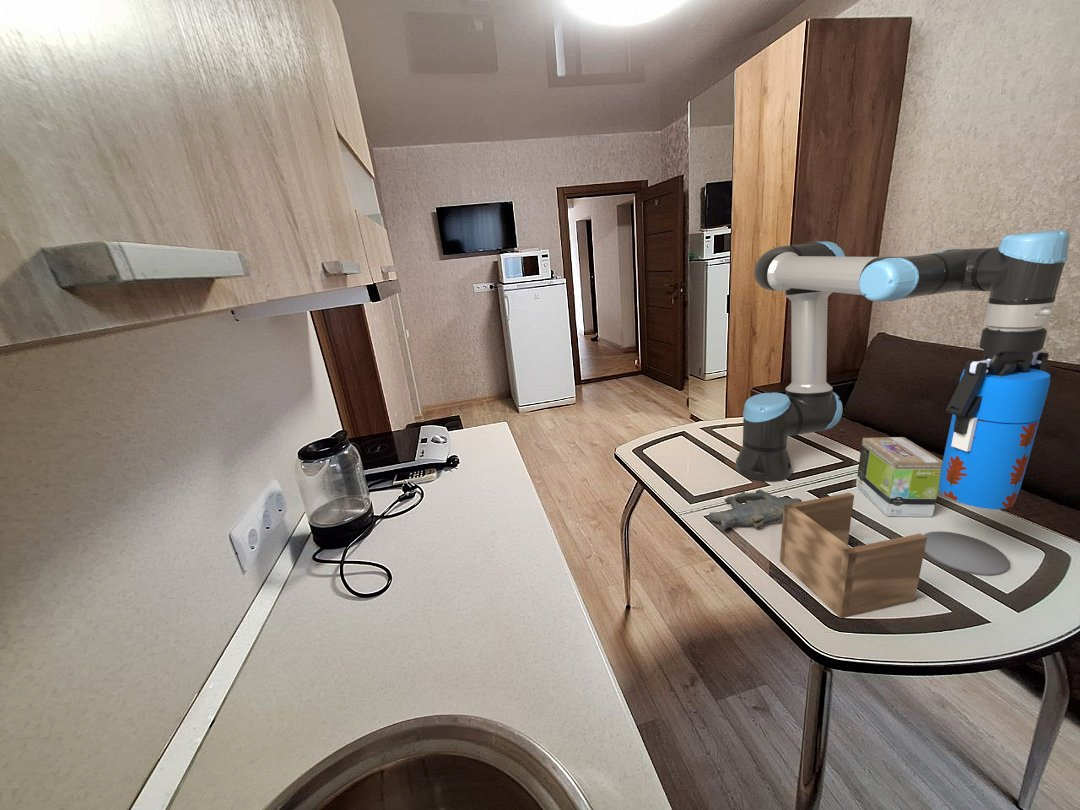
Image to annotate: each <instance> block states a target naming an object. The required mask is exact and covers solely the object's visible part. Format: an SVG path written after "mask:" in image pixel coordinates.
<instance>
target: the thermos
mask: <svg viewBox="0 0 1080 810" xmlns="http://www.w3.org/2000/svg"><path fill="white" fill-rule="evenodd" d="M1029 369H1030V371H1031V372H1026V373H1021V372H1018V373H1011V374H1009V375H1008V376H1002V377H1000V376H998V375H990V374H985V377H984V379H983V381H982V383H981V385H980V387H979V389H978V391H977V393H976V395H975V396H978V397H980V396H983V397H982V401H981V406H980V409H979V410H978V411H977V413H976V414H975V415H974V417H975V418H978V419H977V424H976V429H975V433H974V438H973V442H972V447H971V451H968V452H967V451H964V450H961V449H958V448H955V447H952V446H951V445H952V440H953V435H954V430H953V429H954V425H955V420H956V415H953V414H951V415H952V416H951V421H950V426H949V430H948V433H947V438H946V444H945V448H944V453H943V458H942V461H943V462H942V467H941V472H940V481H939V488H938V491H940V493H942V494H943V495H944V496H945V497H947V498H949V499H951V500H953V501H954V502H958V503H960V504H964V505H967V506H971V507H975V508H979V509H987V510H988V509H989V510H1006V509H1009V508H1012V507H1013V506H1015V505H1014V504H1015V503H1016V500H1017V497H1018V495H1019V493H1020V491H1021V487H1022V483H1023V480H1024V477H1025V475H1026V474H1025V473H1026V469H1027V466H1028V463H1029V459H1030V456H1031V452H1032V449H1033V445H1034V443H1035V442H1034V441H1035V438H1036V434H1037V430H1038V428H1039V424H1040V420H1041V417H1042V414H1043V410H1044V406H1045V403H1046V401H1045V399H1046V396H1048V392H1049V387H1050V385H1051V374H1050V373H1049V372H1047V371H1046V372H1044V371H1041V370H1037V369H1031V368H1029ZM964 371H965V368H964V369H963V371H962V373H961V376H960V378H959V381H960V380H961V378H962V376H963V374H964ZM968 411H969V409H968Z"/></svg>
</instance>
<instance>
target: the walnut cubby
mask: <svg viewBox="0 0 1080 810" xmlns="http://www.w3.org/2000/svg"><path fill="white" fill-rule="evenodd" d="M854 499H855V495H854V494H853V493H850V492H846V493H841V494H836V495H830V496H825V497H820V498H814V499H809V500H804V501H803V500H802V502H798V503H793V504H788V505H784V509H783V523H781V524H782V525H781V539H780V552H779V554H780V555H779V562H780V563H781V564H782V565H783V566H784V567H785V568H786V569H787V570H788V571H789V572H790V573H792V574H793V575H794V577H796V578H797V579H798V580H799V581H800V582H801V583H802V584H803V585H804V586H806V588H807V589H809V590H810V591H811V592H812V593H813V594H814V595H815V596H816V597H817V598H818V599H820V600H821V601H822V602H823V604H825V605H826V606H827V607H828V608H829V609H830V610H831V611H832V612H833V613H834V614H836V616H837V617H839V618H840V619H845V618H848V617H853V616H855V615H856V616H857V615H861V614H864V613H869V612H873V611H878V610H879V611H880V610H882V609H887V608H893V607H896V606H900V605H905V604H910V603H913V602H915V600H916V596H917V590H918V584H919V580H920V575H921V571H922V565H923V560H924V554H925V552H924V551H925V546H926V541H927V537H926V536H924V534H922V533H916V534H911V535H910V534H909V535H908V536H907V535H905V536H900V537H897V538H890V539H886V540H881V541H878V542H873V543H868V544H863V545H859V546H853V547H851V546H849V539H850V531H851V524H852V523H851V521H852V514H853V507H854V506H853V505H854Z"/></svg>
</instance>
